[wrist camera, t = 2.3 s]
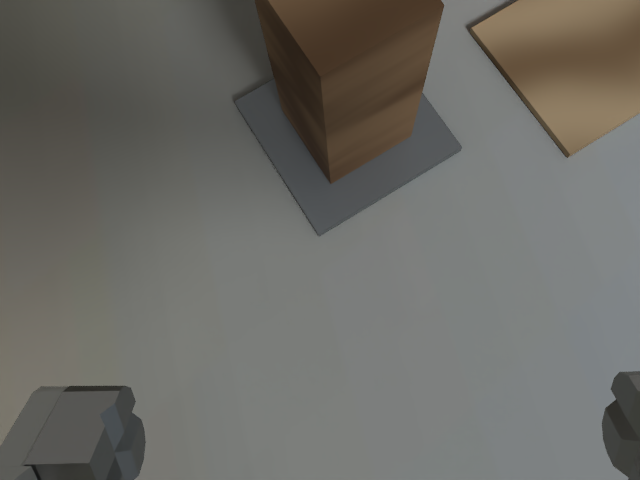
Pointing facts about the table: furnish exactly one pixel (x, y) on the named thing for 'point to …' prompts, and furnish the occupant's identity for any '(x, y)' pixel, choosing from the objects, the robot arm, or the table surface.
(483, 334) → the table surface
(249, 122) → the slate tile
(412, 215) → the table surface
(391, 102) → the walnut pillar
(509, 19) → the cork pad
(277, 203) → the table surface
